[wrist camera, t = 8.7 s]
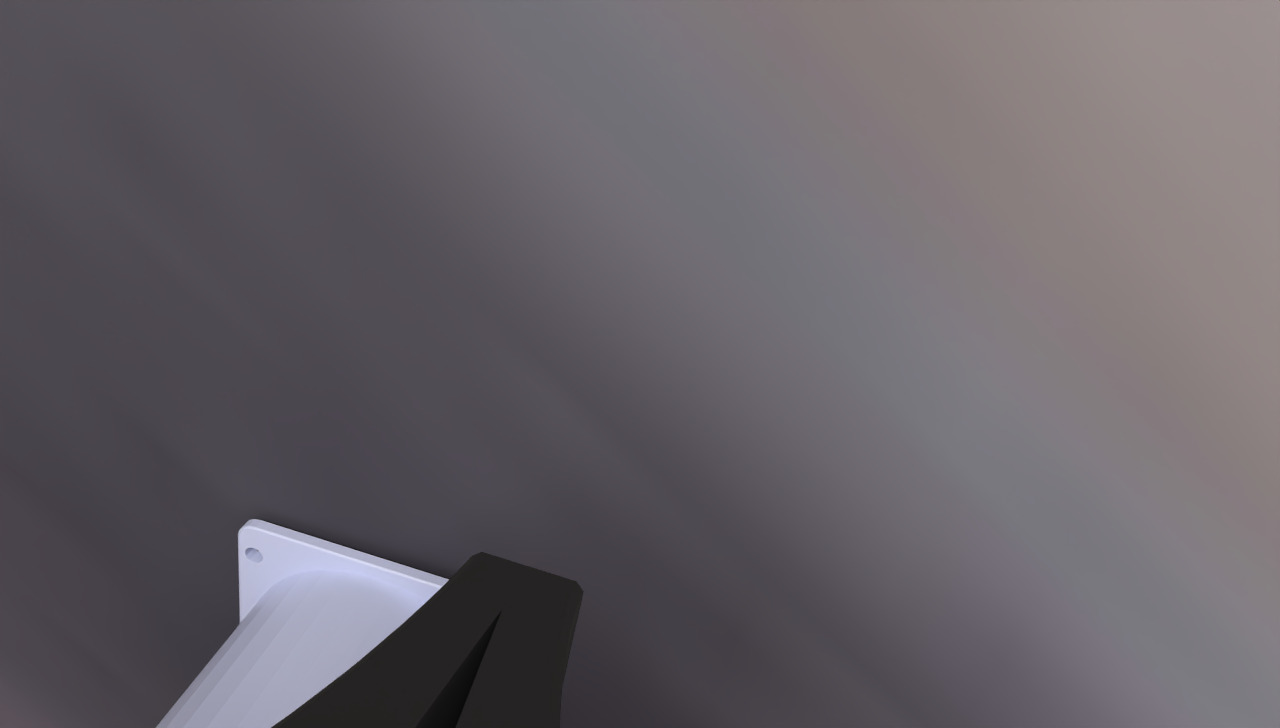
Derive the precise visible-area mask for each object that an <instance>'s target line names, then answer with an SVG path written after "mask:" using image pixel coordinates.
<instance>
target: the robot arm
mask: <svg viewBox="0 0 1280 728" xmlns="http://www.w3.org/2000/svg"><path fill="white" fill-rule="evenodd" d="M256 549H257V550H258V551H257V550H256ZM238 558H239V603H240V624H239V626H238V627H237V628H236V629H235V631H234V632H233V633H232V634H231V635H230V637H229V638H228V639H227V640H226V642H225V643H224V644H223V645H222V647H221V648H220V649H219V650H218V651H217V653H216V654H215V655H214V656H213V658H212V659H211V660H210V661H209V663H208V664H207V665H206V666H205V667H204V669H203V670H202V671H201V672H200V674H199V675H198V676H197V677H196V679H195V680H194V681H193V682H192V683H191V685H190V686H189V687H188V688H187V690H186V691H185V692H184V693H183V695H182V696H181V697H180V698H179V699H178V701H177V702H176V703H175V704H174V706H173V707H172V708H171V709H170V711H169V712H168V713H167V714H166V716H165V717H164V718H163V719H162V720H161V722H160V723H159V724H158V725H157V727H156V728H559V725H560V708H561V693H562V685H563V680H564V676H565V671H566V667H567V663H568V658H569V654H570V649H571V645H572V640H573V636H574V632H575V627H576V623H577V618H578V614H579V610H580V605H581V601H582V596H583V590H582V589H581V587H580V586H579V584H578V583H577V582H576V581H573V580H570V579H567V578H563V577H560V576H557V575H554V574H551V573H547V572H544V571H541V570H538V569H535V568H532V567H528V566H525V565H522V564H519V563H516V562H512V561H509V560H506V559H503V558H500V557H496V556H493V555H490V554H487V553H484V552H480V553H478V554H476V555H473V556H472V557H471V558H470V559H469V560H468V561H467V562H466V563H465V564H464V565H463V566H462V567H461V568H460V569H459V570H458V571H457V572H456V573H455V574H454V575H453V576H452V577H451V578H450V579H446V578H443V577H439V576H436V575H433V574H430V573H427V572H424V571H420V570H417V569H414V568H411V567H408V566H405V565H401V564H398V563H395V562H392V561H389V560H386V559H382V558H379V557H376V556H373V555H370V554H367V553H363V552H360V551H357V550H354V549H351V548H348V547H344V546H341V545H338V544H335V543H332V542H329V541H325V540H322V539H319V538H316V537H313V536H310V535H306V534H303V533H300V532H297V531H294V530H291V529H287V528H284V527H281V526H278V525H275V524H272V523H268V522H265V521H262V520H257V519H253V520H249V521H248V522H247V523H246V524H245V525H244V526H243V527H242V528H241V529H240V530H239V533H238Z"/></svg>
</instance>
